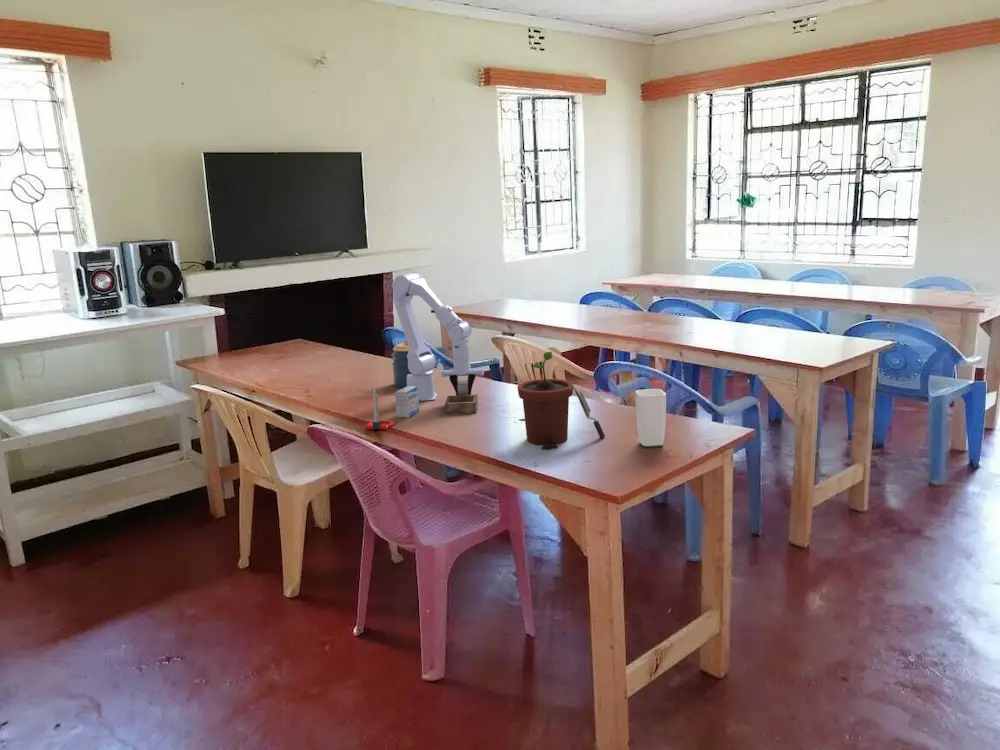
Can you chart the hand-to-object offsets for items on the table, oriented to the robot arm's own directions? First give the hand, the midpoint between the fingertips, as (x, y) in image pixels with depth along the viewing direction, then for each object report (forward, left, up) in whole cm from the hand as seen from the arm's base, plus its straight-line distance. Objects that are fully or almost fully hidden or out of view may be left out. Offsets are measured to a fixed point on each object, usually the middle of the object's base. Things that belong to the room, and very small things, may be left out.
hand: (463, 396), depth 269 cm
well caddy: (0, -10, -2) cm, 10 cm away
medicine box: (-17, -13, -2) cm, 22 cm away
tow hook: (-24, -25, -2) cm, 35 cm away
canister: (-22, +29, -2) cm, 37 cm away
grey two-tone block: (0, 0, -2) cm, 2 cm away
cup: (+56, -53, -2) cm, 77 cm away
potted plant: (+30, -46, -2) cm, 55 cm away
